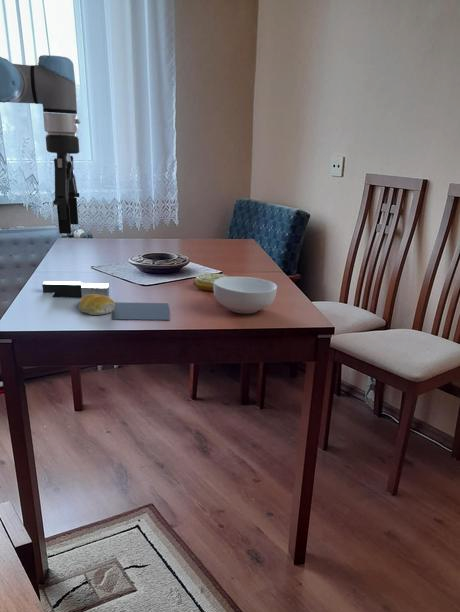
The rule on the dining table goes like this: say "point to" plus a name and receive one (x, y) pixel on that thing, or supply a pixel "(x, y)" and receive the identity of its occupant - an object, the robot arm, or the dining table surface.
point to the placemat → (141, 311)
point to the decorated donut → (207, 280)
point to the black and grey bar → (74, 289)
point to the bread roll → (96, 304)
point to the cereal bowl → (244, 293)
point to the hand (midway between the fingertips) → (69, 228)
